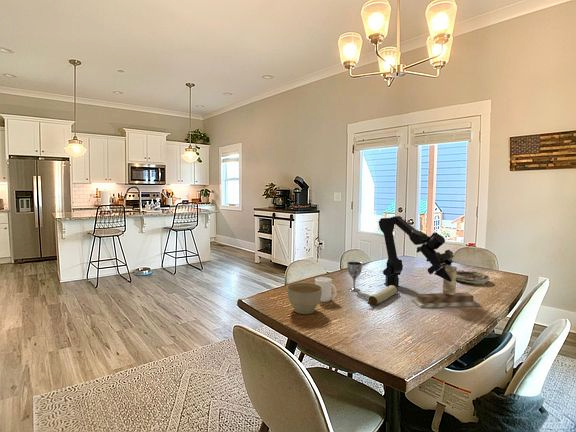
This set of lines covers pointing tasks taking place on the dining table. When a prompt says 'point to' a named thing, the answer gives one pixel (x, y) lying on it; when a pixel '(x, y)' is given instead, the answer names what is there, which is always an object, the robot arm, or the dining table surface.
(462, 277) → the pie
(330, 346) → the dining table surface
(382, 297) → the rolling pin
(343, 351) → the dining table surface
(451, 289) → the ash post
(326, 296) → the mug
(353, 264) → the wine glass
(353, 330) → the dining table surface
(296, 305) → the planter bowl
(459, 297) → the ridge stand
